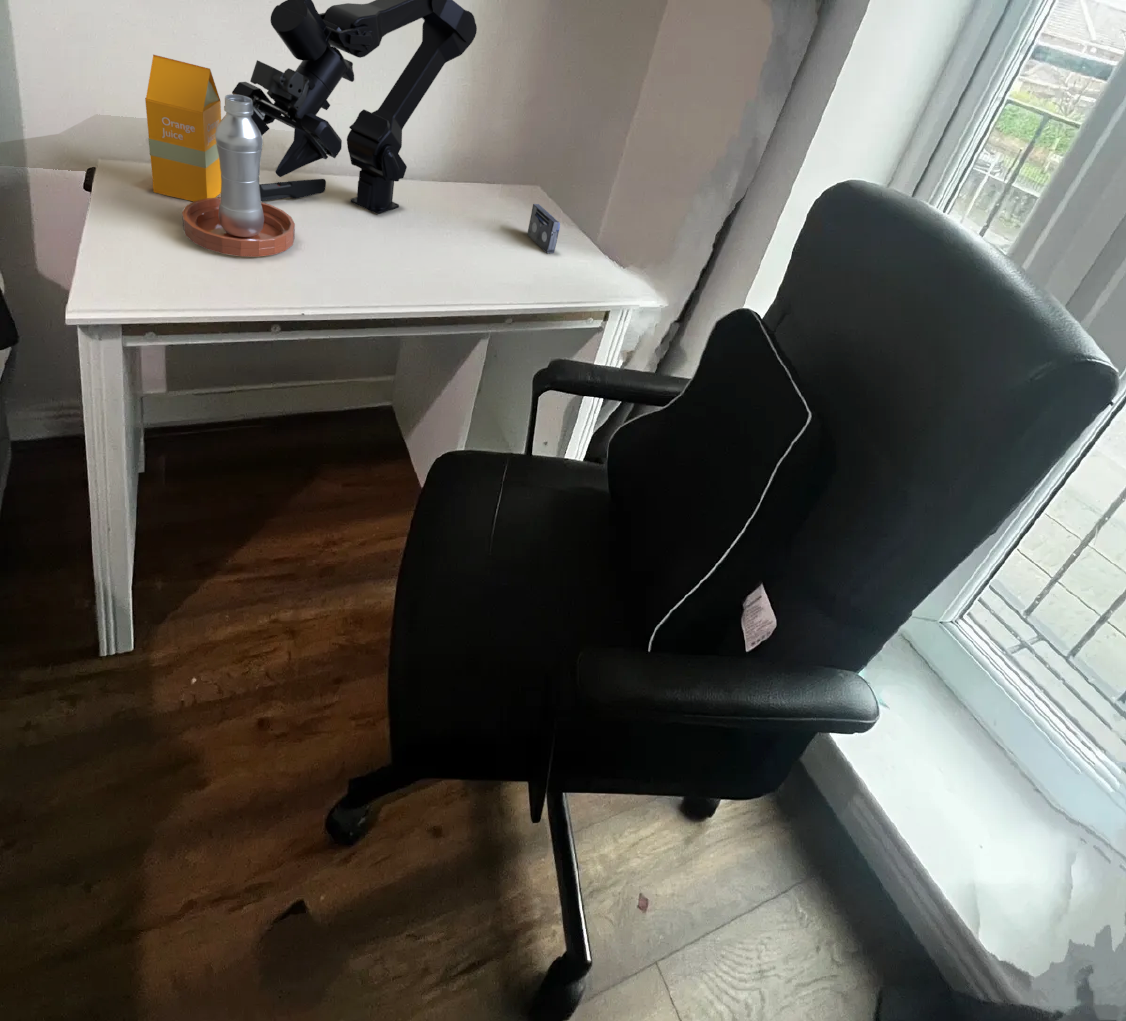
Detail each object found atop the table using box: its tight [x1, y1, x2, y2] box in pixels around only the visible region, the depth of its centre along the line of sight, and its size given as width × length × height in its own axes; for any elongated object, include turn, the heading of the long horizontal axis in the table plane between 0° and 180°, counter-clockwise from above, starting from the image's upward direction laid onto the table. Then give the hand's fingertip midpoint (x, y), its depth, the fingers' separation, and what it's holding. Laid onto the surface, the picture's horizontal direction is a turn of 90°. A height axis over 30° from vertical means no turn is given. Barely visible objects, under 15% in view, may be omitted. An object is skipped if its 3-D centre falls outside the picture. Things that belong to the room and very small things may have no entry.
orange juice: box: [144, 54, 222, 202], centre depth 132 cm, size 8×9×20 cm
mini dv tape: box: [526, 203, 561, 254], centre depth 153 cm, size 8×2×6 cm, turn 31°
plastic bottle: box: [215, 93, 264, 237], centre depth 123 cm, size 6×7×20 cm
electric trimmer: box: [259, 178, 327, 202], centre depth 144 cm, size 4×16×3 cm, turn 138°
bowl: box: [181, 196, 296, 258], centre depth 128 cm, size 16×16×3 cm
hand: (256, 163), depth 125 cm, fingers open, 9 cm apart
